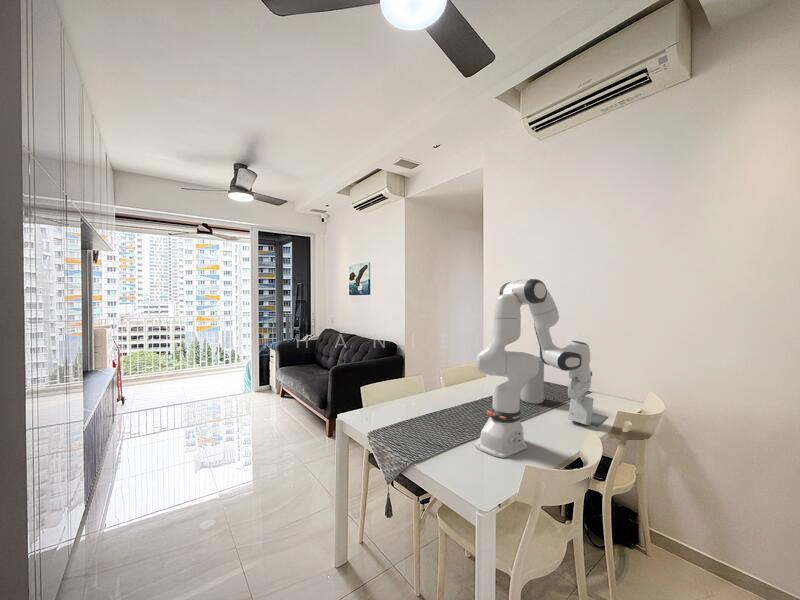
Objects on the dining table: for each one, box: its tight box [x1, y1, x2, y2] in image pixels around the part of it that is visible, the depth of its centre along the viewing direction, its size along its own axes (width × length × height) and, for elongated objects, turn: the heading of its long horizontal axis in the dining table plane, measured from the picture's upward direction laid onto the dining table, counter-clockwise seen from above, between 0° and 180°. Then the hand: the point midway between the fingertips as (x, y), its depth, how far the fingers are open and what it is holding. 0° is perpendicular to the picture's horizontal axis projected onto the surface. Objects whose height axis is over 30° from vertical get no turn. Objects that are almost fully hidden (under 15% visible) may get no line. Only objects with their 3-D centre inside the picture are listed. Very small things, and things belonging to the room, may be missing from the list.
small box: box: [567, 395, 594, 426], centre depth 153 cm, size 8×6×13 cm
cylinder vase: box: [520, 355, 545, 405], centre depth 184 cm, size 12×12×25 cm
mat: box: [590, 411, 608, 427], centre depth 158 cm, size 16×9×1 cm, turn 133°
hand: (579, 402), depth 151 cm, fingers closed
